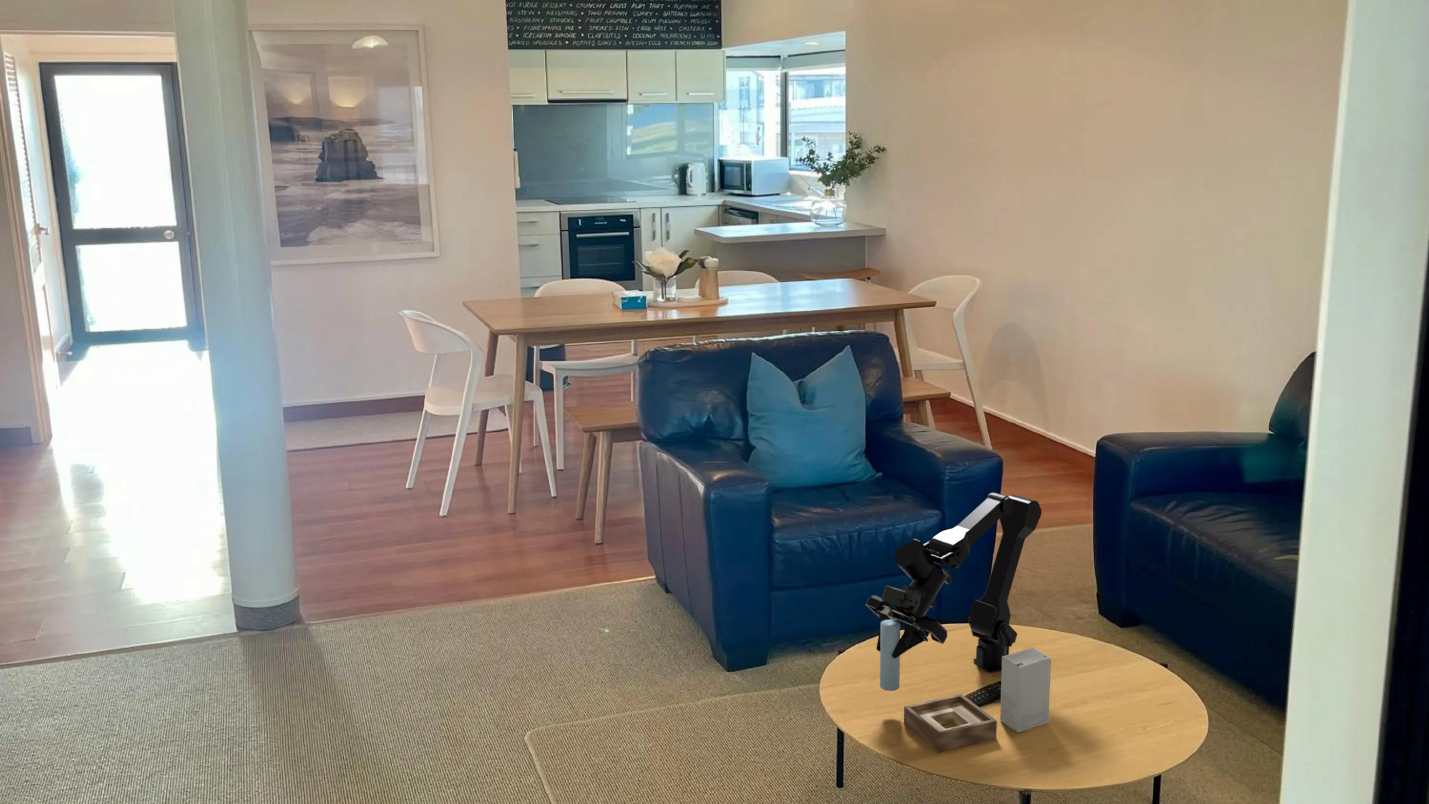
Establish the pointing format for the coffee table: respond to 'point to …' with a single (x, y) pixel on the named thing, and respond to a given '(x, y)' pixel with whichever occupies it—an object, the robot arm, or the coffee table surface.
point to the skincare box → (1025, 689)
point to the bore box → (945, 710)
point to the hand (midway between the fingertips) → (885, 653)
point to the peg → (889, 655)
